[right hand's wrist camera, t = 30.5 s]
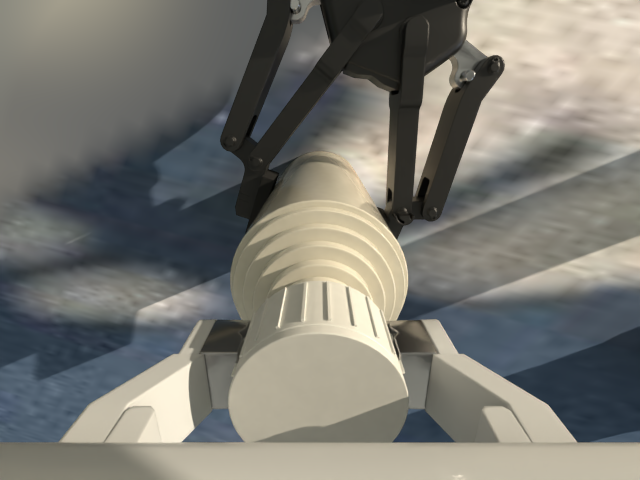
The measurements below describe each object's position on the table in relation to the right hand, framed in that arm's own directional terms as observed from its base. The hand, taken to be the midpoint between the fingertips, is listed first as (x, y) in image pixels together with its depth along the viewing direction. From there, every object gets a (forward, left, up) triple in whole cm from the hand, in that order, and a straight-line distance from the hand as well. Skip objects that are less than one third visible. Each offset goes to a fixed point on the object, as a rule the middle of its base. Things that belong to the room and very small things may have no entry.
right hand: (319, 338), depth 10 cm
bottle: (0, 0, -20) cm, 20 cm away
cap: (0, 0, +2) cm, 2 cm away
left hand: (-3, -4, -14) cm, 14 cm away
